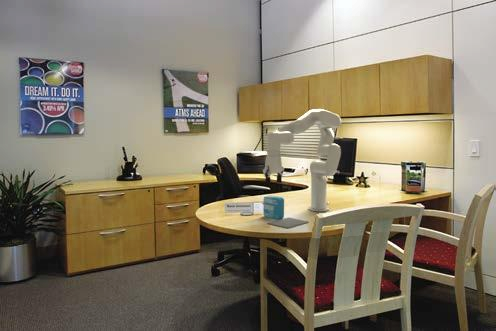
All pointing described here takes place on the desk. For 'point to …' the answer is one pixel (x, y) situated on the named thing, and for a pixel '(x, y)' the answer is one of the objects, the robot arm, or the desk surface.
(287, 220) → the desk mat
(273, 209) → the teal rounded box
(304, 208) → the desk surface
